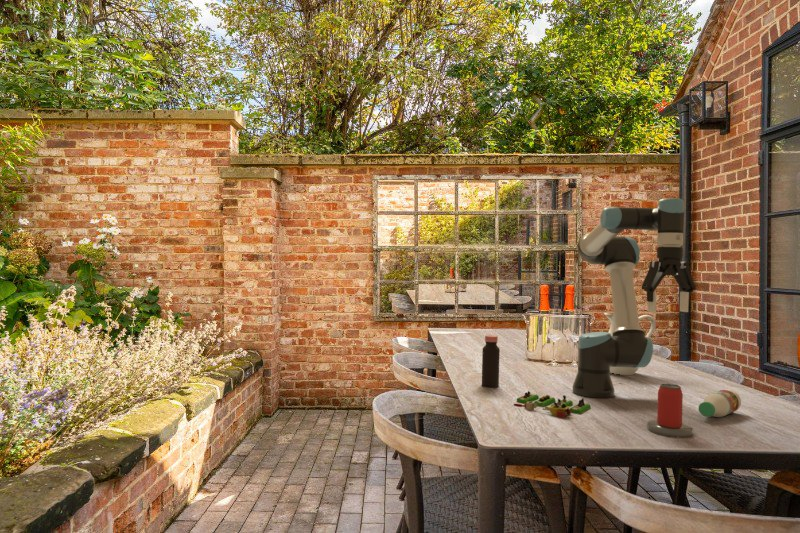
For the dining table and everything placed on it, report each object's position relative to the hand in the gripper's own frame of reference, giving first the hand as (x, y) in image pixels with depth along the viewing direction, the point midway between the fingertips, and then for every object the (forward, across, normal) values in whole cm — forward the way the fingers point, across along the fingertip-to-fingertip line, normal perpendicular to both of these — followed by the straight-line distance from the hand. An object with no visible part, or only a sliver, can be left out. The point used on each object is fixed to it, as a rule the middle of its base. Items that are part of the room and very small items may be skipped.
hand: (668, 312), depth 173 cm
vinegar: (+35, -33, +56) cm, 73 cm away
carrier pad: (+34, -11, -12) cm, 38 cm away
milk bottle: (+31, +29, 0) cm, 42 cm away
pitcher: (+36, +44, +63) cm, 85 cm away
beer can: (+33, -11, -12) cm, 37 cm away
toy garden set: (+35, -30, +21) cm, 51 cm away
